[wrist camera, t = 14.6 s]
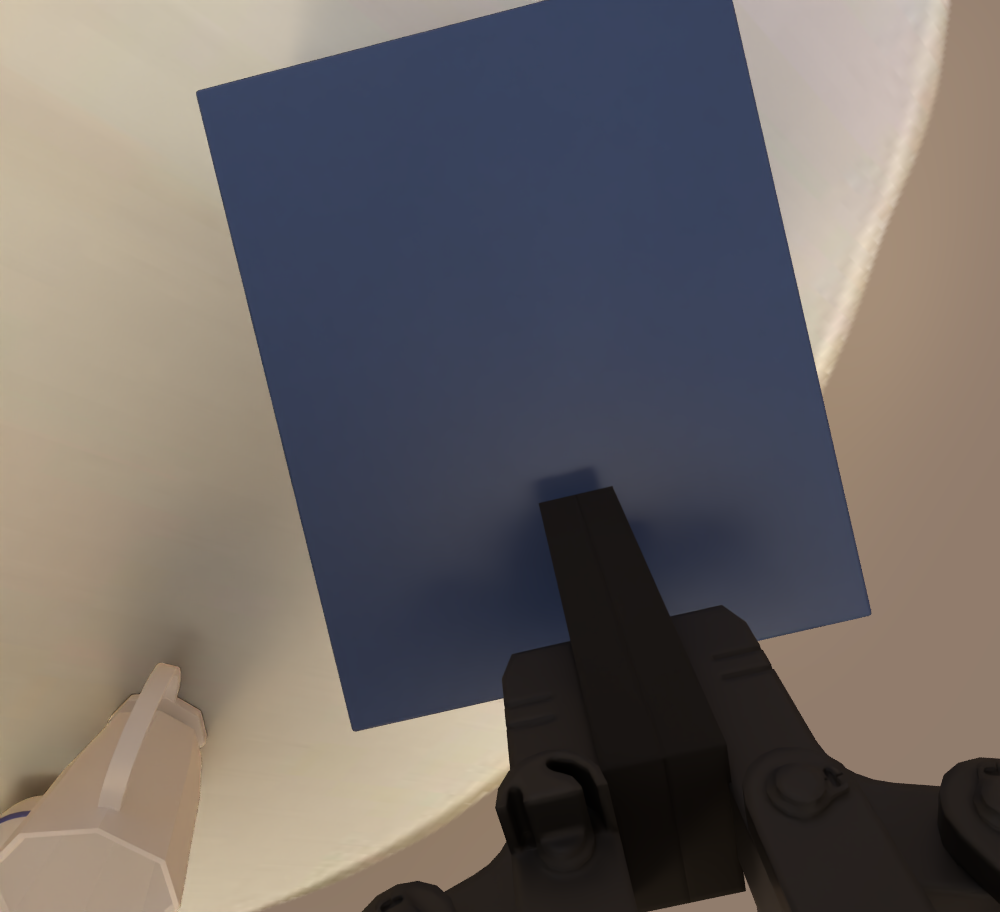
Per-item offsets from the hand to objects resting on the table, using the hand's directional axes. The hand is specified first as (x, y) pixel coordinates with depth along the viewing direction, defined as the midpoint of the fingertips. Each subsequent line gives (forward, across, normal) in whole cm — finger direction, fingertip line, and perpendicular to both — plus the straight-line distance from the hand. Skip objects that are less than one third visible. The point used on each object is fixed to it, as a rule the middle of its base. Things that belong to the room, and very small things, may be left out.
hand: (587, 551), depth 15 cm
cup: (+14, -20, -12) cm, 27 cm away
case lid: (+3, 0, +3) cm, 5 cm away
